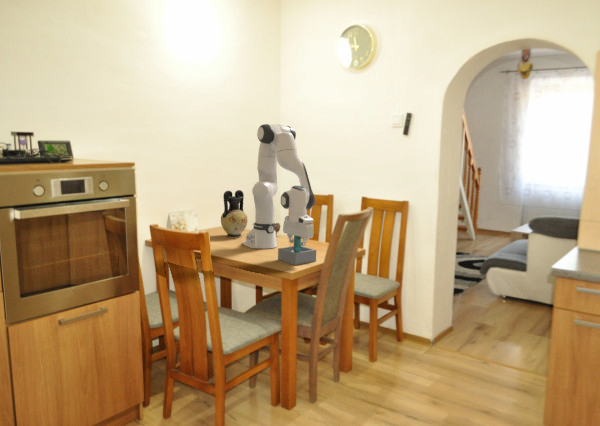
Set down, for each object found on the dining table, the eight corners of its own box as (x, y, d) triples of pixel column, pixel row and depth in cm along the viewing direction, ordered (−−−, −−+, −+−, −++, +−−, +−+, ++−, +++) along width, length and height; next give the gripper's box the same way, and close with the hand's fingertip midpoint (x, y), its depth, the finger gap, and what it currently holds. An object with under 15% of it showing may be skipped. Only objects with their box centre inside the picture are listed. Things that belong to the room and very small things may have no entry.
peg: (291, 258, 242) (292, 235, 241) (297, 257, 245) (298, 234, 244) (296, 259, 239) (297, 236, 238) (302, 258, 242) (303, 235, 241)
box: (277, 259, 243) (278, 248, 242) (298, 256, 252) (298, 245, 251) (295, 265, 232) (295, 253, 232) (315, 261, 242) (316, 249, 241)
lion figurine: (277, 235, 309) (277, 222, 308) (282, 236, 305) (282, 223, 304) (258, 237, 300) (258, 223, 299) (263, 239, 296) (263, 225, 295)
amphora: (233, 233, 313) (233, 188, 309) (252, 236, 304) (253, 190, 300) (214, 236, 299) (214, 190, 295) (234, 240, 289) (235, 192, 285)
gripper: (280, 215, 245) (279, 241, 247) (306, 220, 230) (305, 248, 232) (289, 214, 249) (289, 240, 251) (316, 219, 234) (315, 246, 236)
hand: (297, 244), depth 241 cm, fingers open, 8 cm apart
